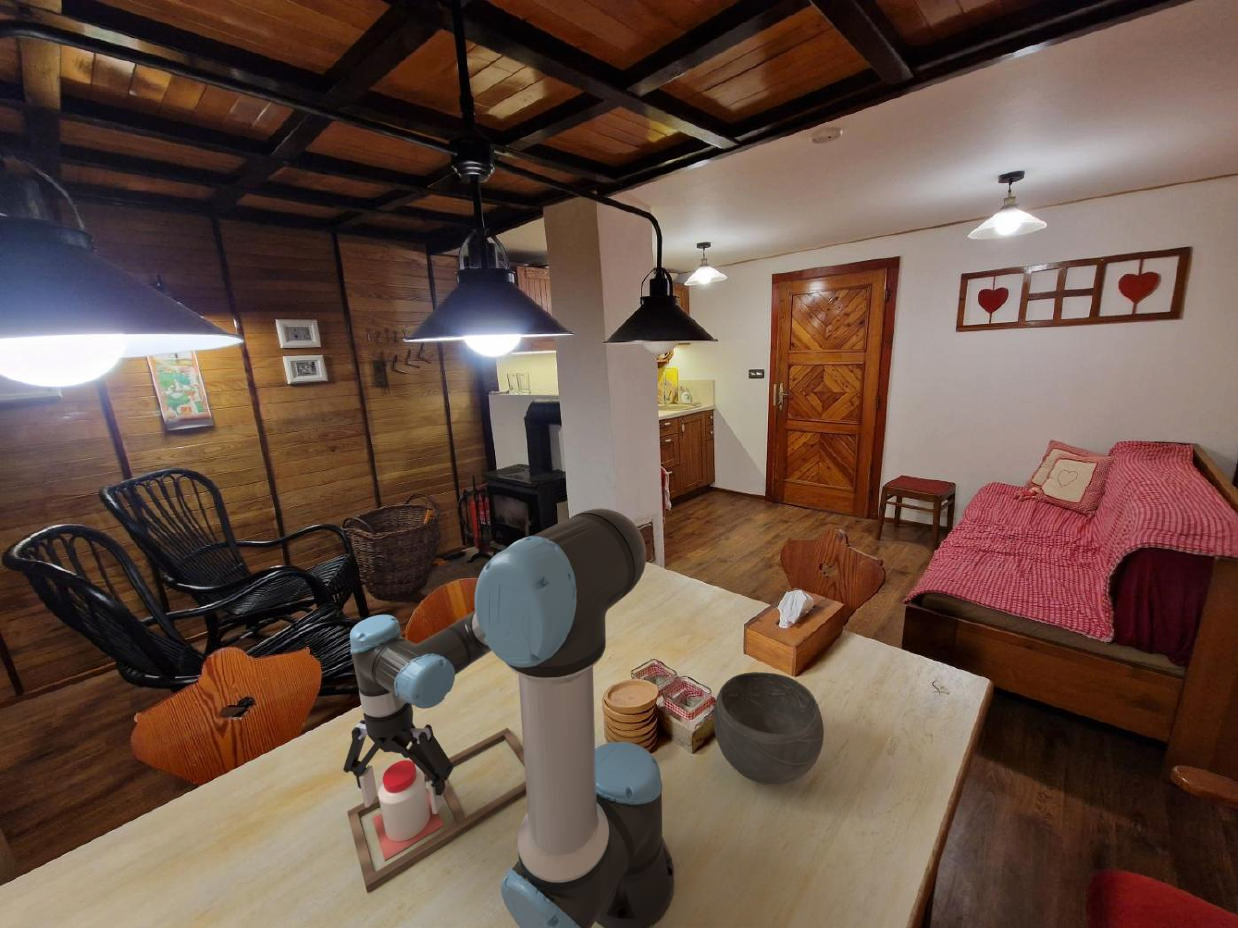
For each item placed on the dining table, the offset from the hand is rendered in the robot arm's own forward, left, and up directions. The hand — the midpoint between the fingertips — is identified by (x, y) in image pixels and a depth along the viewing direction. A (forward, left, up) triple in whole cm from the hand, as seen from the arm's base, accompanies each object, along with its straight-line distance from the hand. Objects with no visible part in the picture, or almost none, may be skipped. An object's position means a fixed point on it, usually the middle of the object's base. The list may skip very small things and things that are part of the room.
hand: (404, 803), depth 90 cm
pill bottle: (0, 0, -4) cm, 4 cm away
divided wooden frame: (0, -8, -4) cm, 9 cm away
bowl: (-33, -61, -5) cm, 70 cm away
